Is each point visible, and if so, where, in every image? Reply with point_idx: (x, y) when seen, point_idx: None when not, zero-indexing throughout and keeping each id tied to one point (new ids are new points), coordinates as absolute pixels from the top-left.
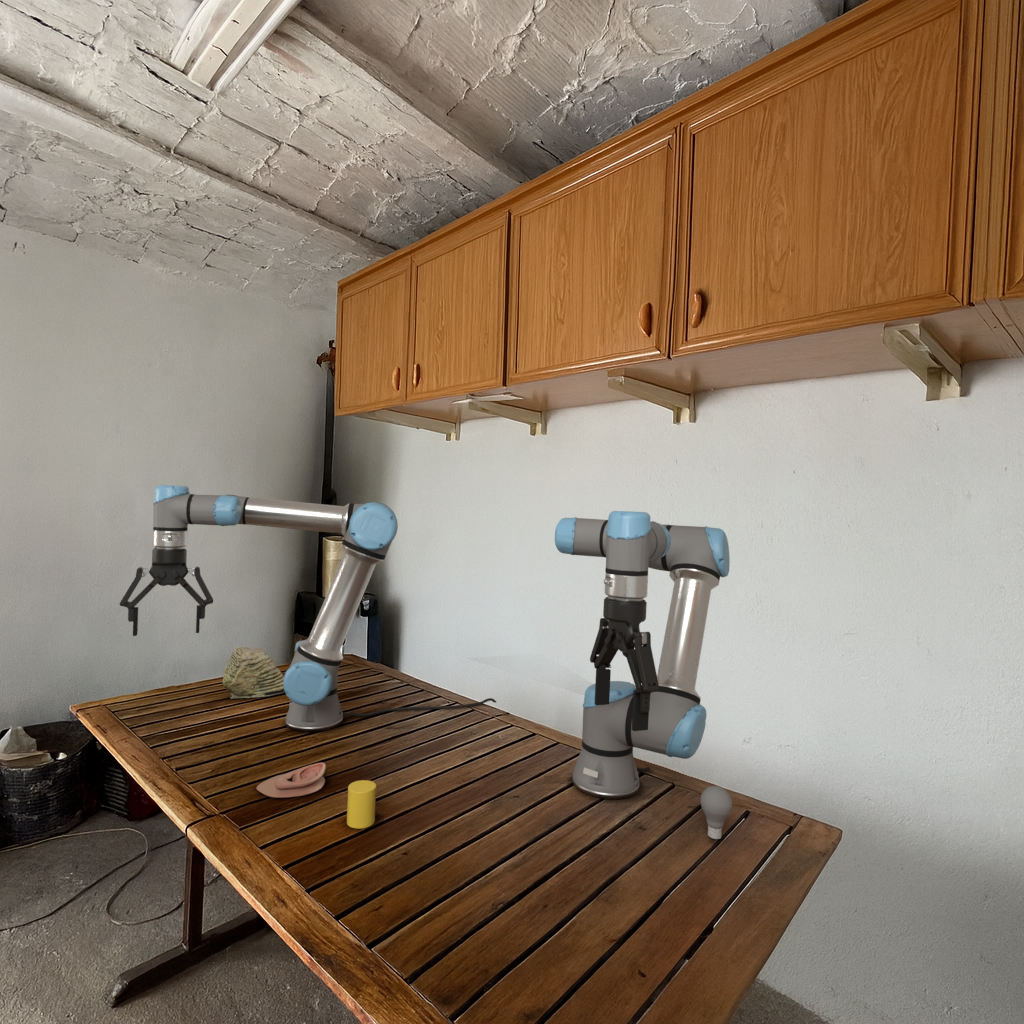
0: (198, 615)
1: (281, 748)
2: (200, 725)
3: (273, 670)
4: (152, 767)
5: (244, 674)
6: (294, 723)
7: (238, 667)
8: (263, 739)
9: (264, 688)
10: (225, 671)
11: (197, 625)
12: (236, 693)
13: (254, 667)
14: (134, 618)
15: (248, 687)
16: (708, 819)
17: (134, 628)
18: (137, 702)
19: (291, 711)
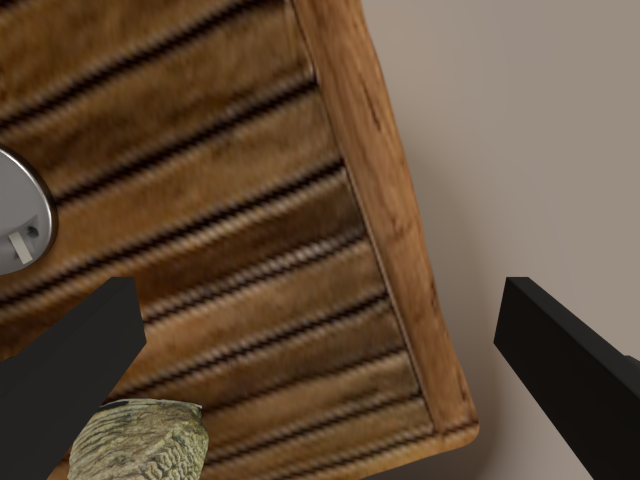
0: (21, 361)
1: (44, 49)
2: (250, 268)
3: (79, 457)
4: (335, 29)
5: (146, 439)
6: (15, 166)
7: (153, 457)
8: (98, 130)
9: (121, 413)
10: (196, 470)
11: (92, 305)
12: (183, 407)
13: (114, 455)
14: (616, 355)
15: (152, 415)
16: None
17: (550, 303)
18: (379, 431)
19: (8, 196)
